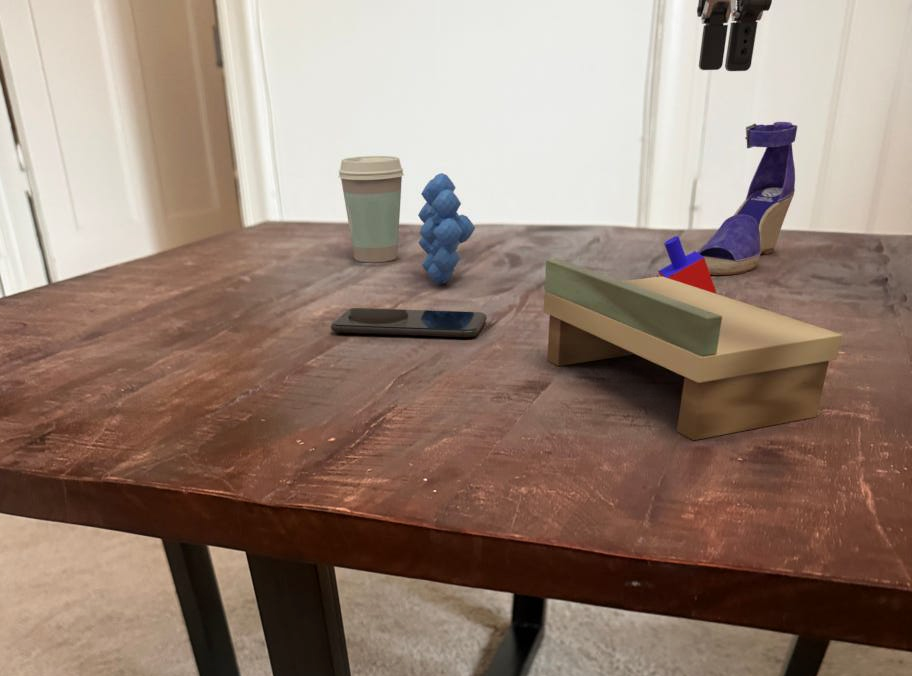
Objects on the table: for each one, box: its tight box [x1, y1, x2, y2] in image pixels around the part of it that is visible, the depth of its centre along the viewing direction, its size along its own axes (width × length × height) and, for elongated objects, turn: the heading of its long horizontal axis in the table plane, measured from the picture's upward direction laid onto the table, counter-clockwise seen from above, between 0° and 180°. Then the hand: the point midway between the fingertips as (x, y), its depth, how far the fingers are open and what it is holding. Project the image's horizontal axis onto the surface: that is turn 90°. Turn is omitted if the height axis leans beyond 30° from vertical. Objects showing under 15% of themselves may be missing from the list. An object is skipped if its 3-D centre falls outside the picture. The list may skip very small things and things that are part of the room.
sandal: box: [696, 121, 798, 276], centre depth 107 cm, size 8×20×15 cm, turn 133°
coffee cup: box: [338, 155, 405, 264], centre depth 116 cm, size 9×9×12 cm
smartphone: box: [330, 307, 488, 338], centre depth 88 cm, size 7×1×15 cm
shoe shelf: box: [543, 258, 843, 441], centre depth 69 cm, size 12×22×8 cm, turn 22°
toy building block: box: [658, 235, 718, 294], centre depth 92 cm, size 4×4×8 cm
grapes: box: [417, 172, 476, 285], centre depth 102 cm, size 12×7×12 cm, turn 13°
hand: (722, 70), depth 84 cm, fingers open, 8 cm apart
